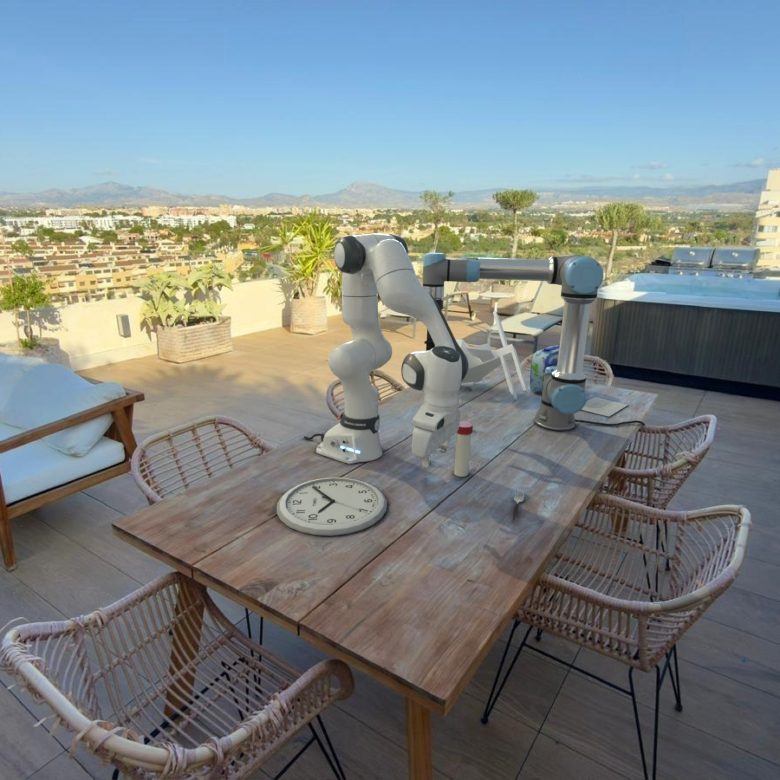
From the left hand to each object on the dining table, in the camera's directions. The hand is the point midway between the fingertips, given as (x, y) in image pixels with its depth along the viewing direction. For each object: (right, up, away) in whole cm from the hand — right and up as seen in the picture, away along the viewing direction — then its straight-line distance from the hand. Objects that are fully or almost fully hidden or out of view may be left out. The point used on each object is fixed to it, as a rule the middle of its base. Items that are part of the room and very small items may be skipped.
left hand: (434, 458), depth 137 cm
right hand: (+3, +30, +52) cm, 60 cm away
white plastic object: (+30, +17, +106) cm, 111 cm away
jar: (+10, -8, +25) cm, 29 cm away
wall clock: (-28, -14, +6) cm, 31 cm away
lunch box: (+64, +18, +111) cm, 129 cm away
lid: (+11, +7, +21) cm, 24 cm away
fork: (+23, -14, +6) cm, 28 cm away
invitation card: (+80, +11, +89) cm, 120 cm away
